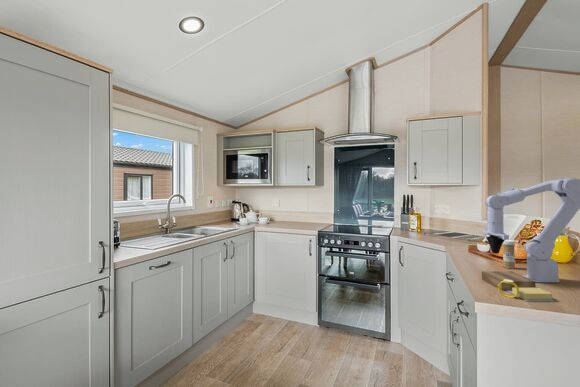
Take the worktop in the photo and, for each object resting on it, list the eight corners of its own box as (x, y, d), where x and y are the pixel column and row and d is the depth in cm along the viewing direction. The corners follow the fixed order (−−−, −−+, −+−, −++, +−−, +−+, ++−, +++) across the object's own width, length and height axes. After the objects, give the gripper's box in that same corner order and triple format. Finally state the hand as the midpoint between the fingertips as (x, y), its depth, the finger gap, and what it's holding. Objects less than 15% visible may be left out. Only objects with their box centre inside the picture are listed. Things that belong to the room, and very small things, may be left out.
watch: (519, 298, 100) (520, 282, 99) (517, 300, 98) (518, 284, 97) (499, 292, 104) (500, 277, 104) (496, 294, 103) (497, 278, 102)
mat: (531, 290, 106) (531, 289, 106) (555, 301, 95) (555, 300, 95) (506, 290, 106) (506, 289, 106) (526, 301, 96) (526, 300, 96)
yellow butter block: (552, 293, 96) (552, 299, 96) (538, 287, 102) (538, 293, 102) (524, 293, 97) (524, 299, 97) (512, 287, 103) (512, 292, 103)
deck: (511, 279, 119) (511, 271, 119) (535, 290, 106) (535, 281, 106) (481, 279, 120) (481, 271, 120) (501, 290, 107) (501, 281, 107)
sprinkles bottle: (503, 268, 135) (502, 240, 135) (503, 266, 139) (503, 239, 139) (515, 269, 132) (514, 241, 132) (515, 267, 136) (514, 240, 136)
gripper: (476, 220, 130) (476, 249, 131) (496, 224, 116) (496, 257, 116) (492, 220, 130) (492, 249, 130) (514, 224, 115) (514, 257, 115)
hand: (495, 253), depth 123 cm, fingers closed
